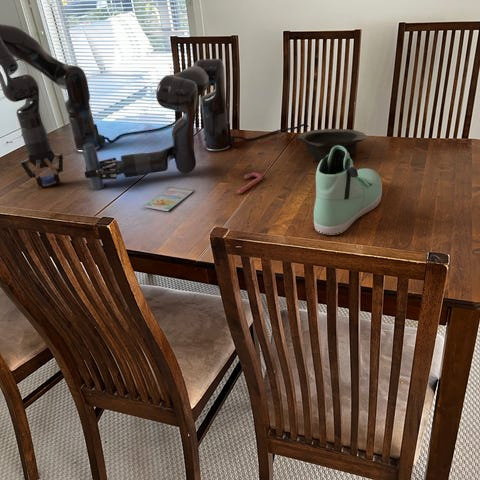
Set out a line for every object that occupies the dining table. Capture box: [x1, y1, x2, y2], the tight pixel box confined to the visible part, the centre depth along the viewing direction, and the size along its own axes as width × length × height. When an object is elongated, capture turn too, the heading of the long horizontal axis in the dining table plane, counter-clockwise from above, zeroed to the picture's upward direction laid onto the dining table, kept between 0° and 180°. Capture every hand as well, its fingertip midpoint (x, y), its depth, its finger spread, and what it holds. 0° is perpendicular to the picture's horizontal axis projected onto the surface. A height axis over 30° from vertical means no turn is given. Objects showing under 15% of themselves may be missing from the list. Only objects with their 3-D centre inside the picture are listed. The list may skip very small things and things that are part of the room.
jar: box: [82, 143, 105, 191], centre depth 161 cm, size 4×4×15 cm
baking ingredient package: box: [143, 187, 194, 212], centre depth 152 cm, size 9×1×15 cm
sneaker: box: [313, 146, 383, 236], centre depth 133 cm, size 14×35×20 cm, turn 152°
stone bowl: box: [296, 128, 369, 163], centre depth 173 cm, size 25×25×9 cm
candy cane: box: [236, 172, 263, 195], centre depth 157 cm, size 6×15×2 cm, turn 145°
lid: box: [40, 173, 56, 185], centre depth 167 cm, size 5×5×2 cm
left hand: (49, 184), depth 168 cm, fingers closed on lid, 4 cm apart
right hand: (85, 172), depth 161 cm, fingers closed on jar, 4 cm apart
